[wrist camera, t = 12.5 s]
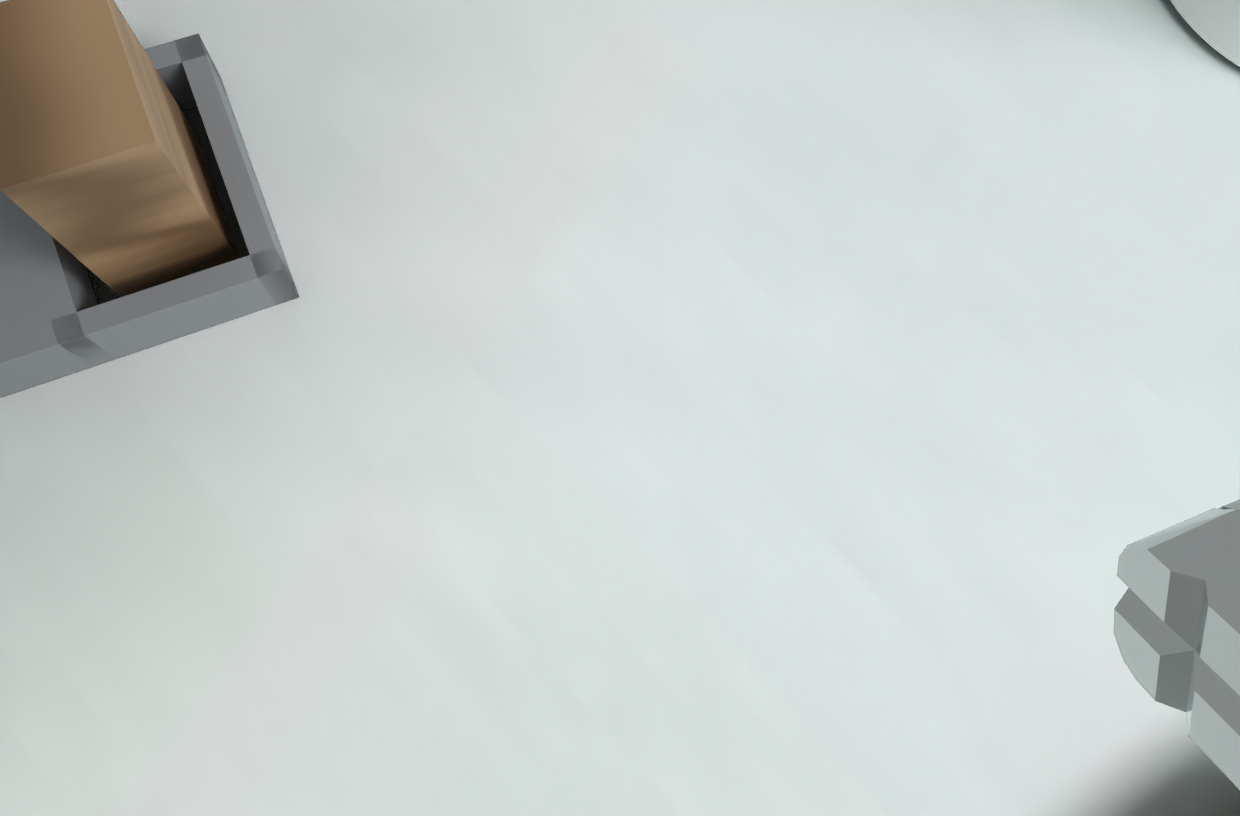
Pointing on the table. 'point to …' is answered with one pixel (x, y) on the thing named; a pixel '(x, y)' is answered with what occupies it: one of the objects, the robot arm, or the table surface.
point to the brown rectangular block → (103, 147)
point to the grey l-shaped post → (94, 334)
